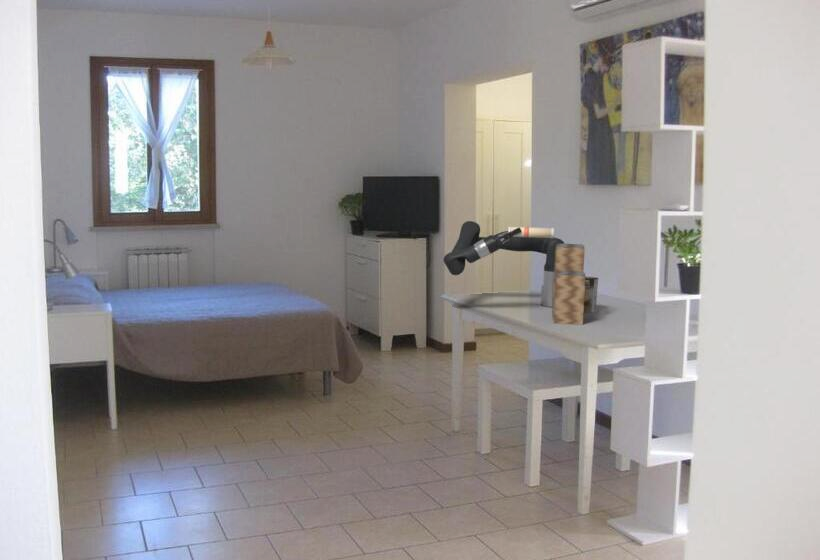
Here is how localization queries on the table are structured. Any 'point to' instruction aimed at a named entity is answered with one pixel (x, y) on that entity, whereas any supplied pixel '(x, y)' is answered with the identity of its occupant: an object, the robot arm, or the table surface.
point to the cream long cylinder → (533, 232)
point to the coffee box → (590, 294)
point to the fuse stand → (568, 284)
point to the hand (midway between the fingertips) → (520, 228)
